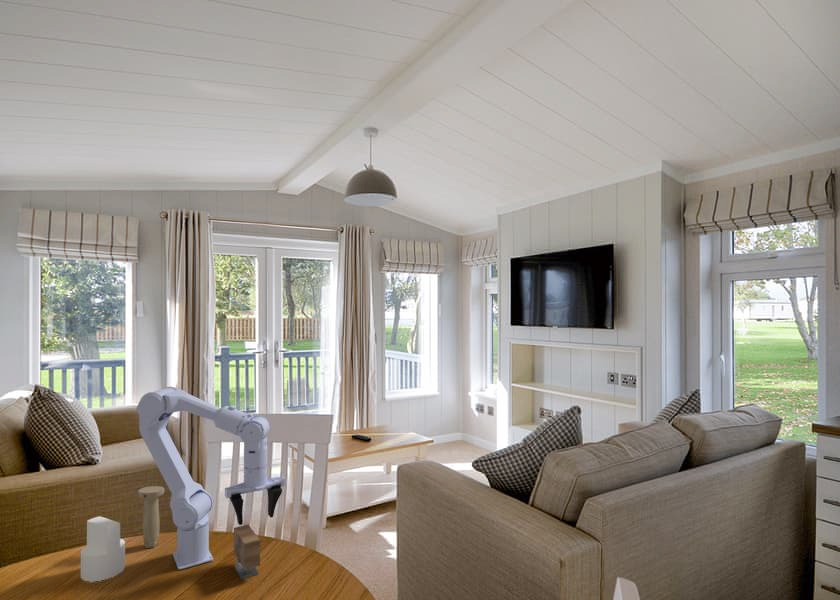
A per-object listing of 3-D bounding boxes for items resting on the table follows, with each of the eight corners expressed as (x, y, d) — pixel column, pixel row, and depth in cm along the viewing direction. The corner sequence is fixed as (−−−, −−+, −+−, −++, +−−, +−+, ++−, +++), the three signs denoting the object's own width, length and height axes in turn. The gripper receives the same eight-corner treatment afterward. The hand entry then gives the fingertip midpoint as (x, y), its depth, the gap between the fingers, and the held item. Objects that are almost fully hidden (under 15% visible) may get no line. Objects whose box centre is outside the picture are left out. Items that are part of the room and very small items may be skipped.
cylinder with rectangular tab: (72, 576, 117) (72, 525, 117) (111, 559, 125) (111, 511, 125) (94, 586, 113) (94, 533, 113) (133, 567, 121) (133, 518, 121)
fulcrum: (234, 568, 120) (234, 555, 120) (251, 563, 122) (251, 551, 122) (241, 579, 115) (241, 566, 115) (258, 574, 117) (258, 561, 117)
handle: (155, 551, 129) (155, 493, 129) (133, 549, 130) (133, 492, 130) (168, 542, 133) (168, 486, 134) (146, 540, 134) (146, 485, 135)
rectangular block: (233, 552, 122) (233, 527, 122) (248, 548, 124) (248, 524, 124) (244, 570, 114) (244, 543, 114) (259, 565, 116) (259, 539, 116)
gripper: (229, 475, 117) (229, 533, 117) (289, 464, 126) (289, 518, 125) (222, 467, 123) (222, 522, 123) (279, 457, 131) (279, 508, 131)
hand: (255, 519), depth 125 cm, fingers open, 7 cm apart
